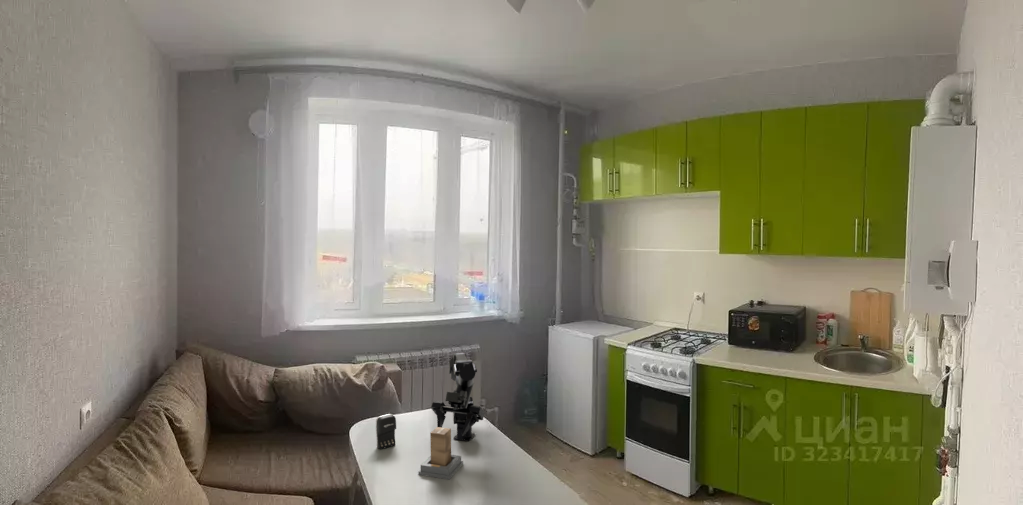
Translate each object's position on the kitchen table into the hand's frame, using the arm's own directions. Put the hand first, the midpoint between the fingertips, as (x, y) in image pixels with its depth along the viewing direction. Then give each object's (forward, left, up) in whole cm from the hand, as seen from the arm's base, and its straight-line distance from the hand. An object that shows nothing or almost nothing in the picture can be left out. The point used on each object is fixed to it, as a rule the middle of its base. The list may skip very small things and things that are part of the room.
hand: (450, 433), depth 174 cm
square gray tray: (+8, 0, -9) cm, 12 cm away
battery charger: (-2, -27, -9) cm, 28 cm away
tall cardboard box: (+8, 0, -8) cm, 11 cm away
